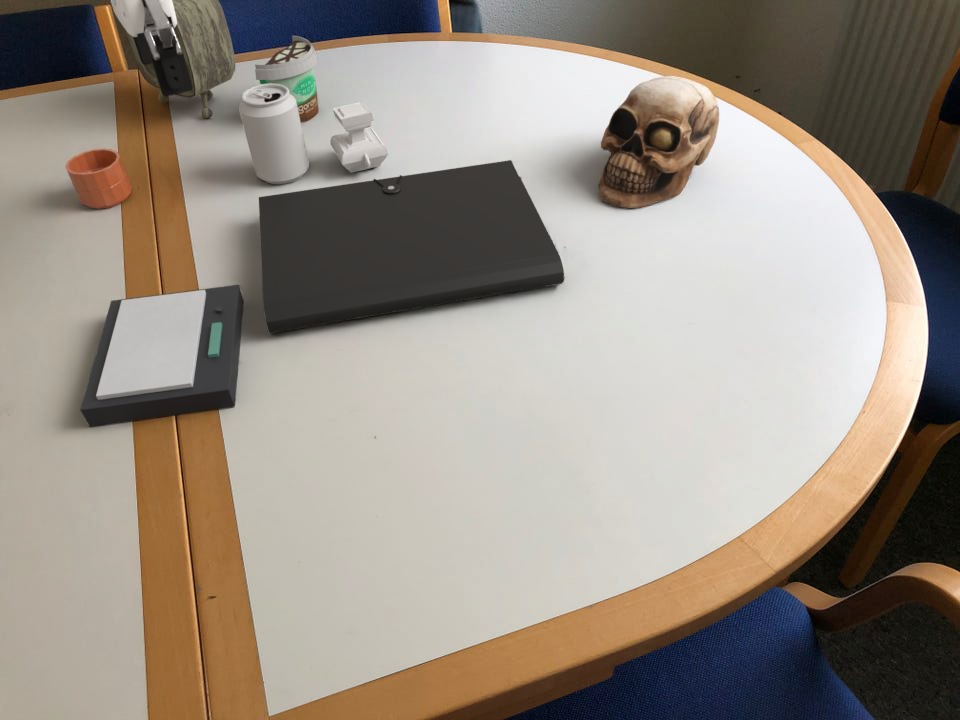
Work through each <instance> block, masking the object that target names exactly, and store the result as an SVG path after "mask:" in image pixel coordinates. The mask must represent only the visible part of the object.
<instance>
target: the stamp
mask: <svg viewBox="0 0 960 720" xmlns="http://www.w3.org/2000/svg"><path fill="white" fill-rule="evenodd" d="M332 111H333V114H334V117H335V118H336V120H337V121H338V123H340V125H341V126H342V127H343V128H344V130H345V132H344V133H339V134H334V135H332V136H331V137H330V146H331V148H332V150H333V151H334V153H335V154H336V156H337V158H338V160H339V162H340V163H341V165H342V166H343V167H344V168H345V169H346V170H347V171H349V173H350V174H352V173H356V172H360V171H364V170H369V169H372V168H378V167H381V165H382V164H383V162H384V161H385V160H386V159H387V157H388V156H389V151H388V149H387V147H386V146H385V144H384V143H383V141H382V140H381V138H380V137H379V136H378V134H377V133H376V131H375V130H374V129H373V127H371V126H372V122H374V121H375V119H374V117H373V114H372V112H371V111H370V110H369V108H367V106H366V105H365V104H364V102H362V101H358V102H353V103H349V104H345V105H341V106H336V107H333V108H332Z"/></svg>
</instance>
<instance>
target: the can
mask: <svg viewBox="0 0 960 720" xmlns="http://www.w3.org/2000/svg"><path fill="white" fill-rule="evenodd" d="M240 98H241V102H240V103H239V107H238V110H239V114H240V119H241V122H242V127H243V129H244V134H245V138H246V142H247V145H248V149H249V152H250V153H249V154H250V157H251V161H252V164H253V165H252V166H253V169H254V173H255V175H256V176H257V178H259V179H260V180H263V181H265V182H266V183H268V184H272V185H286V184H290V183H293V182H295V181H298V180H299V179H301V178H302V177H303V176H304V175H305V174H306V172H307V170H308V169H309V168H310V161H309V157H308V151H307V147H306V141H305V136H304V132H303V127H302V123H301V122H300V117H299V112H298V107H297V102H296V99H295V98H294V96H292V95H291V94H289V89H288V88H287V87H285V86H283V85H280V84H272V83H270V84H257V85H254V86H251V87H249V88H247V89H245V90H244V91H243V92H242V93H241V97H240Z"/></svg>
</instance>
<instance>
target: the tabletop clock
mask: <svg viewBox="0 0 960 720" xmlns="http://www.w3.org/2000/svg"><path fill="white" fill-rule="evenodd" d="M172 2H173V6H174V10H175V14H176V19H177V25H176V27H175V28H174V29H173V30H174V32H175V35H176V37H177V40H178V43H179V45H180V48H181V51H182V52H183V54H184V58H185V61H186V65H187V68H188V72H189V75H190V79H191V82H192V86H193V89H192V90H191V91H188V92H183V93H179V94H175V95H174V96H176V97H181V98H186V99H192V98H195V97H197V96H199V95H200V97H201V101H202V104H203V108H202V110H201V114H202V116H203V117H204V118H206V119H210V118H212V117H213V115H214V112H213V109H211V107H209V104H208V103H209V102H208V101H210V100H211V99H213V95H214V94H213V92H212V89H214V88H215V87H219V86H220V85H222V84H224V83H226V82H229V81H230V80H232V78H233V76H234V74H235V71H236V56H235V51H234V46H233V42H232V38H231V34H230V30H229V26H228V22H227V19H226V16H225V12H224V10H223V7H222V5H221V2H220V1H219V0H172ZM123 30H124V33H125V37H126V40H127V43H128V45H129V48H130V51H131V54H132V56H133V58H134V61H135V63H136V66H137V68H138V70H139V72H140V74H141V75H142V77H143V79H144V80H145V81H146V82H147V83H148V84H149V85H150V86H153V87H154V88H156V89H158V90H160V86H159V83H158V80H157V77H156V74H155V71H154V67H153V64H152V63H151V64H147V65H144V64H143V63H142V62H141V60H140V57H139V54H138V51H137V48H136V45H135V42H134V39H133V36H131V35H130V34H128V32H127V31H126V30H125V28H124V27H123ZM157 98H158V101H159V102H161V103H163V104H166V103H167V102H169V100H170V96H164V95H163V94H162V92H160V93H158V97H157Z"/></svg>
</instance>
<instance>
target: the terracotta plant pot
mask: <svg viewBox="0 0 960 720" xmlns="http://www.w3.org/2000/svg"><path fill="white" fill-rule="evenodd" d="M65 170H66V172H67V175H68V176H69V177H68V178H69V179H70V181H71V183H72V186H73V188H74V190H75V193H76V196H77V197H78V199H79V202H80V203H81V205H84V206H85V207H87V208H91V209H95V210H96V209H97V210H99V209H100V210H101V209H109V208H112V207H115V206H118V205H120V204H122V203H123V202H125V201H126V200H127V199H128V198H129V196H130V195H131V194H132V190H133V186H132V183H131V181H130V179H129V176H128V173H127V171H126V168H125V165H124V163H123V160H122V158H121V156H120V154H119V152H118V151H117V150H114V149H111V148H94V149H90V150H86V151H83V152H80V153H78V154H76V155H74V156H72V157H71V158H70V159H69V160H67V162H66V164H65ZM125 199H126V200H125ZM124 200H125V201H124ZM121 202H122V203H121Z"/></svg>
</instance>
